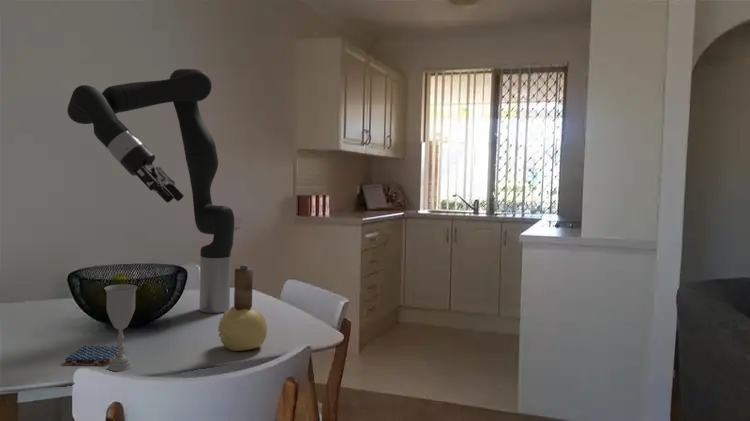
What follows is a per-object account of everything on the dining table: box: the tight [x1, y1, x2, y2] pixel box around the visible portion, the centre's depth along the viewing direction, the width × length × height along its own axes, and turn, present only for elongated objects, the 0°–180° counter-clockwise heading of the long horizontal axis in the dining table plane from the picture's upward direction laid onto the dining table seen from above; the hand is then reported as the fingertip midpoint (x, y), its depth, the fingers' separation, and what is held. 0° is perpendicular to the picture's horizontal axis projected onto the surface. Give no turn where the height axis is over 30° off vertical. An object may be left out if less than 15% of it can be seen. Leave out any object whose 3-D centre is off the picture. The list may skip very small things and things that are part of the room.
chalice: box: [104, 283, 138, 372], centre depth 132 cm, size 7×7×18 cm
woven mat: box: [64, 345, 126, 366], centre depth 139 cm, size 10×11×2 cm
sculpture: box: [217, 306, 268, 352], centre depth 150 cm, size 12×12×11 cm
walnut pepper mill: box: [233, 264, 254, 309], centre depth 150 cm, size 4×4×10 cm
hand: (176, 199), depth 153 cm, fingers open, 8 cm apart
